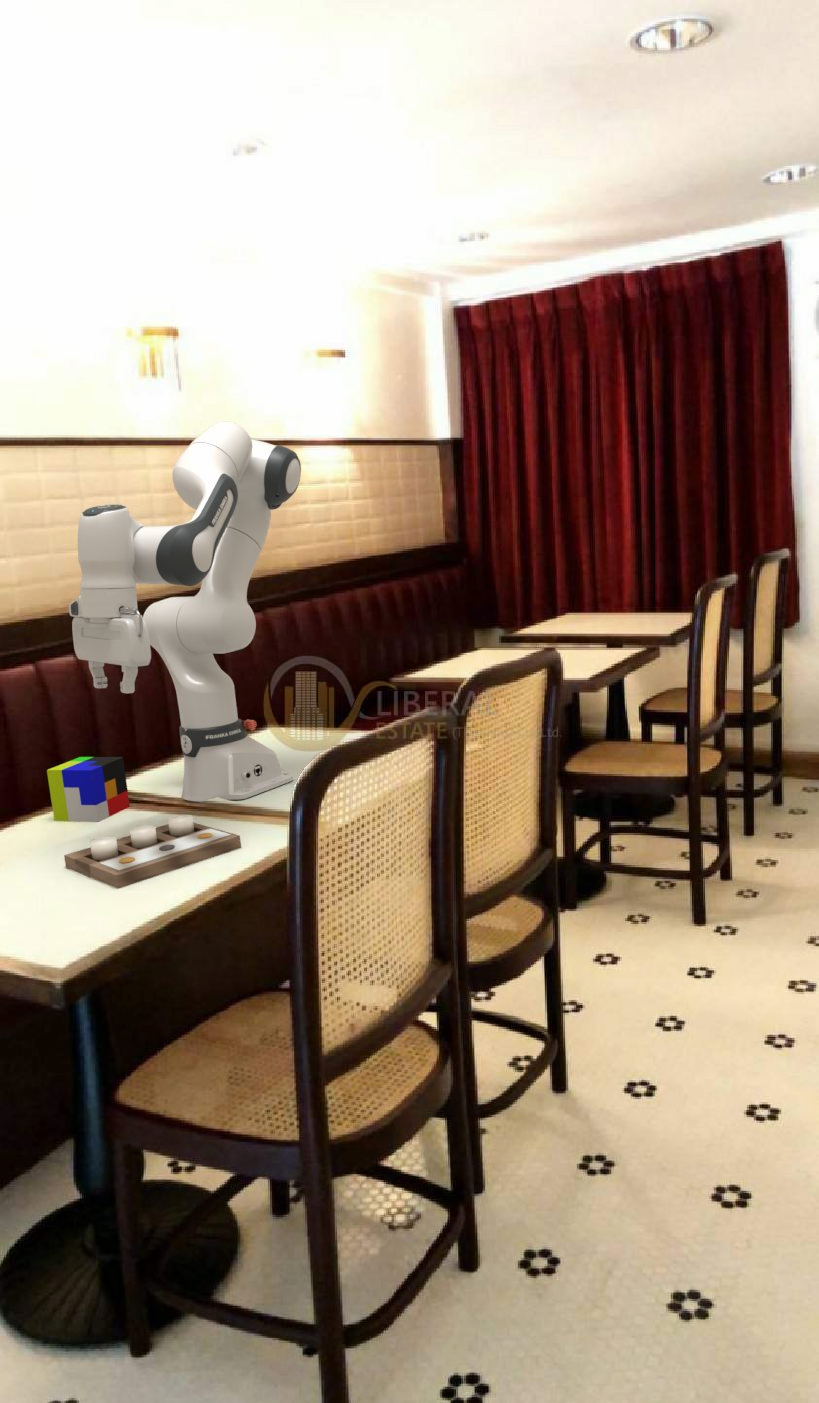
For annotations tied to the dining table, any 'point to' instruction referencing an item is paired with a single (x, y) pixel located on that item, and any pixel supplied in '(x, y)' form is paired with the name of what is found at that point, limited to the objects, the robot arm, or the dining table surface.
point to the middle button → (143, 836)
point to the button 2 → (181, 825)
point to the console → (153, 855)
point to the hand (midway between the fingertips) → (114, 690)
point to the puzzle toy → (88, 789)
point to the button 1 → (104, 848)
